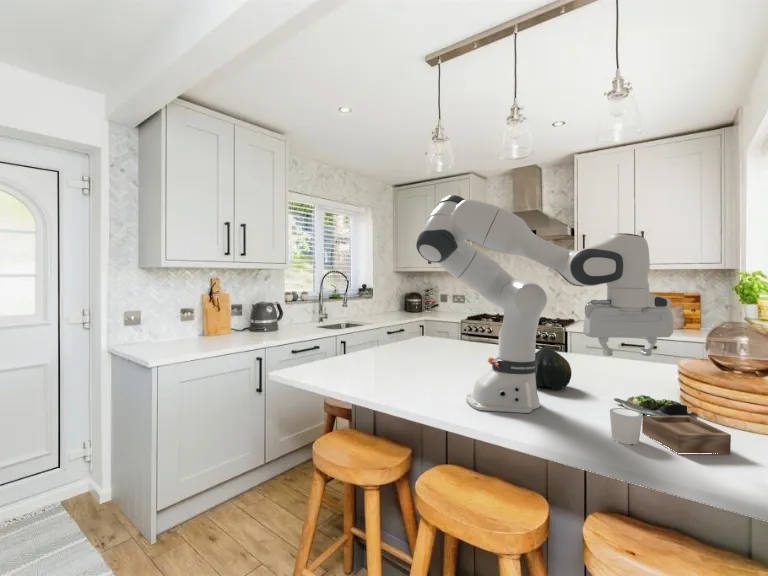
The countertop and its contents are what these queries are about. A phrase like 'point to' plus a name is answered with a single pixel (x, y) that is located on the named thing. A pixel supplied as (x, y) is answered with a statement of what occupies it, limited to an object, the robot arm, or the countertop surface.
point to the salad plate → (654, 406)
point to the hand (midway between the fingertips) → (626, 355)
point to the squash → (552, 369)
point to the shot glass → (625, 425)
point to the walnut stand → (686, 434)
